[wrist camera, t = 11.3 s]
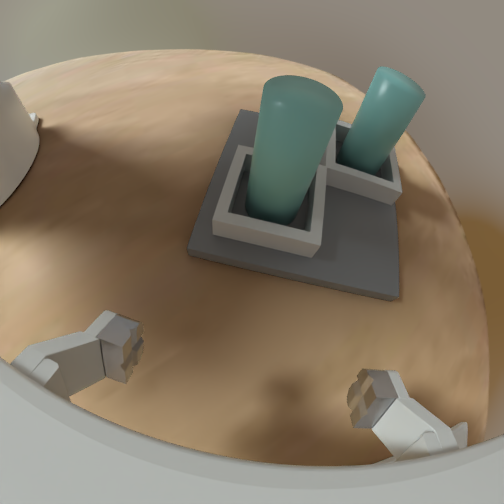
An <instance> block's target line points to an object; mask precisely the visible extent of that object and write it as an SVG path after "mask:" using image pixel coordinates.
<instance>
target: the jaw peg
mask: <svg viewBox="0 0 504 504" xmlns="http://www.w3.org/2000/svg"><path fill="white" fill-rule="evenodd" d="M342 110H343V104H342V101H341V99H340V98H339V97H338V95H337V94H336V93H335V92H334V91H332V90H331V89H330V88H328V87H327V86H325V85H323V84H321V83H319V82H317V81H315V80H312V79H309V78H305V77H300V76H292V75H285V76H278V77H274V78H272V79H270V80H268V81H267V82H266V83H265V85H264V88H263V94H262V100H261V106H260V112H259V118H258V124H257V130H256V136H255V143H254V149H253V155H252V161H251V168H250V174H249V181H248V187H247V194H246V200H245V207H246V211H247V213H248V214H249V216H250V217H251V218H255V219H259V220H263V221H267V222H271V223H276V224H280V225H284V226H286V225H288V224H290V223H291V222H292V221H293V220H294V219H295V217H296V215H297V213H298V210H299V208H300V206H301V204H302V202H303V199H304V197H305V195H306V193H307V190H308V188H309V186H310V184H311V182H312V179H313V177H314V175H315V173H316V170H317V168H318V166H319V163H320V161H321V159H322V157H323V154H324V152H325V150H326V147H327V145H328V143H329V141H330V138H331V136H332V134H333V131H334V129H335V127H336V124H337V122H338V120H339V117H340V115H341V112H342Z"/></svg>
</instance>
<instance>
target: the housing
mask: <svg viewBox="0 0 504 504" xmlns="http://www.w3.org/2000/svg"><path fill="white" fill-rule="evenodd" d="M424 98H425V93H424V91H423V90H422V89H421V87H420V86H419V85H418V84H417V83H415V82H414V81H413V80H411V79H410V78H409V77H407V76H406V75H404V74H402V73H401V72H398V71H396V70H394V69H391V68H387V67H379V68H378V69H377V71H376V74H375V76H374V78H373V80H372V83H371V85H370V87H369V90H368V92H367V94H366V96H365V98H364V100H363V102H362V104H361V107H360V109H359V111H358V113H357V115H356V117H355V119H354V122H353V124H349V123H346V122H343V121H340V120H338V122H337V124H336V127H335V129H334V131H333V134H332V136H331V138H330V141H329V143H328V145H327V147H326V150H325V152H324V154H323V157H322V159H321V161H320V163H319V166H318V168H317V170H316V173H315V175H314V177H313V179H312V182H311V184H310V186H309V188H308V190H307V193H306V195H305V197H304V199H303V202H302V204H301V206H300V208H299V210H298V213H297V215H296V217H295V219H294V220H293V221H292V222H291V223H290V224H288V225H286V226H284V225H280V224H276V223H271V222H267V221H263V220H259V219H255V218H251V217H250V216H249V214H248V213H247V211H246V207H245V200H246V194H247V187H248V181H249V174H250V168H251V161H252V155H253V149H254V143H255V136H256V130H257V124H258V118H259V113H258V112H253V111H247V110H242V109H241V110H240V112H239V114H238V116H237V119H236V121H235V123H234V126H233V128H232V130H231V133H230V135H229V137H228V140H227V142H226V145H225V147H224V150H223V152H222V154H221V157H220V159H219V162H218V164H217V167H216V169H215V172H214V175H213V177H212V180H211V182H210V185H209V188H208V190H207V193H206V196H205V198H204V201H203V204H202V206H201V209H200V212H199V215H198V217H197V220H196V223H195V226H194V229H193V232H192V234H191V237H190V240H189V243H188V246H187V251H188V255H190V256H194V257H198V258H202V259H206V260H210V261H214V262H219V263H223V264H227V265H231V266H235V267H239V268H244V269H248V270H252V271H256V272H261V273H265V274H269V275H274V276H278V277H282V278H287V279H291V280H295V281H300V282H304V283H309V284H313V285H318V286H322V287H327V288H331V289H336V290H340V291H345V292H349V293H354V294H359V295H363V296H368V297H373V298H378V299H382V300H387V301H393V300H394V299H396V298H398V297H399V248H398V230H397V217H396V206H395V201H396V200H397V199H398V198H399V196H400V195H401V194H402V186H401V180H400V174H399V168H398V162H397V157H396V152H395V147H394V146H395V145H396V143H397V142H398V140H399V139H400V137H401V135H402V134H403V132H404V131H405V129H406V128H407V126H408V124H409V123H410V121H411V120H412V118H413V116H414V115H415V113H416V112H417V110H418V108H419V107H420V105H421V103H422V102H423V100H424Z"/></svg>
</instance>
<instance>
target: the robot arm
mask: <svg viewBox="0 0 504 504" xmlns="http://www.w3.org/2000/svg"><path fill="white" fill-rule="evenodd" d="M38 121H39V118H38V116H37V115H36V113H31V114H28V112H27V111H26V109H25V107H24V106H23V104H22V102H21V101H20V99H19V97H18V95H17V94H16V92H15V90H14V89H13V87H12V85H11V84H10V83H9V82H0V206H1V205H2V204H3V203H4V202H5V201H6V199H7V198H8V197H9V196H10V195H11V194H12V193H13V191H14V190H15V189H16V188H17V186H18V185H19V184H20V182H21V181H22V179H23V178H24V176H25V175H26V173H27V172H28V170H29V168H30V167H31V165H32V163H33V161H34V159H35V156H36V154H37V151H38V147H39V135H38V132H37V129H36V128H37V125H38ZM143 332H144V324H143V323H142V322H140V321H137V320H134V319H131V318H128V317H126V316H123V315H120V314H117V313H114V312H112V311H109V310H105V311H104V312H103V313H102V314H101V315H100V316H99V317H98V318H97V319H96V320H95V321H94V322H93V323H92V324H91V325H90V326H89V327H88V328H87V329H86V330H85V332H81V331H79V332H76V333H72V334H69V335H65V336H62V337H58V338H54V339H51V340H47V341H43V342H40V343H36V344H32V345H29V346H27V347H26V348H25V349H24V350H23V351H22V352H21V353H20V354H19V355H18V356H17V357H16V358H15V359H14V360H13V361H12V362H11V364H9V363H8V362H6V361H5V360H4V359H2V358H1V357H0V504H504V434H503V435H500V436H498V437H495V438H492V439H489V440H486V441H484V442H481V443H478V444H474V445H471V446H468V447H464V448H461V449H459V447H458V444H457V442H456V440H455V437H454V435H453V433H452V431H451V429H450V427H448V426H447V425H446V424H444V423H443V422H442V421H441V420H439V419H438V418H437V417H436V416H434V415H433V414H432V413H431V412H429V411H428V410H427V409H426V408H424V407H423V406H422V405H421V404H419V403H418V402H417V401H416V400H414V399H413V398H410V397H409V395H408V393H407V391H406V388H405V386H404V384H403V382H402V380H401V378H400V376H399V373H398V372H397V371H396V370H375V369H362V370H361V371H360V372H359V373H358V375H357V378H358V380H357V381H356V382H354V383H353V384H352V385H351V387H350V388H349V390H348V394H347V404H348V407H349V408H350V409H351V410H352V413H351V414H350V417H351V421H352V426H353V428H372V430H373V432H374V433H375V434H376V435H377V437H378V438H379V439H380V440H381V441H382V443H383V444H384V445H385V446H386V447H387V449H388V450H389V451H390V452H391V453H392V455H393V456H394V457H395V458H396V460H395V461H394V462H390V463H381V464H369V465H354V466H303V465H287V464H275V463H266V462H258V461H251V460H244V459H238V458H232V457H227V456H221V455H217V454H212V453H207V452H203V451H199V450H195V449H191V448H187V447H183V446H180V445H176V444H173V443H169V442H166V441H163V440H160V439H156V438H153V437H150V436H148V435H145V434H142V433H139V432H136V431H134V430H131V429H128V428H126V427H123V426H121V425H118V424H116V423H114V422H111V421H109V420H107V419H104V418H102V417H100V416H98V415H95V414H93V413H91V412H89V411H87V410H85V409H83V408H81V407H79V406H77V405H75V404H73V403H71V401H70V398H69V396H71V395H73V394H75V393H77V392H79V391H81V390H83V389H85V388H87V387H89V386H91V385H92V384H94V383H96V382H98V381H100V380H102V379H104V378H105V376H106V377H108V378H111V379H113V380H116V381H119V382H122V383H124V384H127V382H128V380H129V378H130V377H131V375H132V373H133V366H135V365H137V364H138V363H139V361H140V359H141V357H142V354H143V349H144V340H143V339H142V337H141V335H142V334H143Z"/></svg>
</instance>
